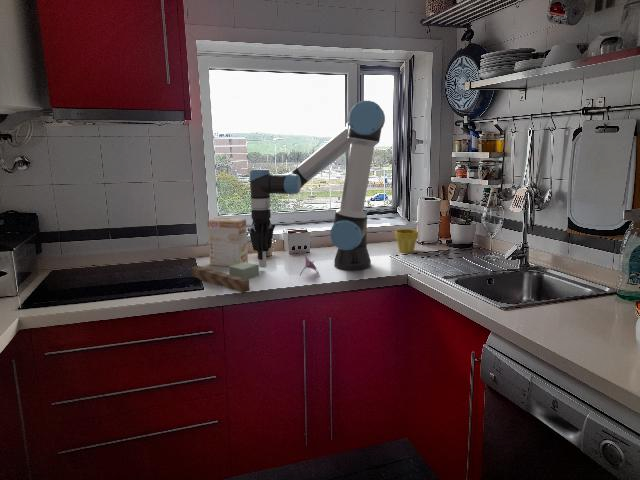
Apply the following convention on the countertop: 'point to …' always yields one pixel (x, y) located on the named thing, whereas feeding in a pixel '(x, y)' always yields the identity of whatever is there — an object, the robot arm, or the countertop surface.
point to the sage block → (244, 270)
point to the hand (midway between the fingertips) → (262, 266)
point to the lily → (309, 265)
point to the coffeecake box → (227, 241)
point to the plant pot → (406, 239)
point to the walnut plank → (221, 278)
